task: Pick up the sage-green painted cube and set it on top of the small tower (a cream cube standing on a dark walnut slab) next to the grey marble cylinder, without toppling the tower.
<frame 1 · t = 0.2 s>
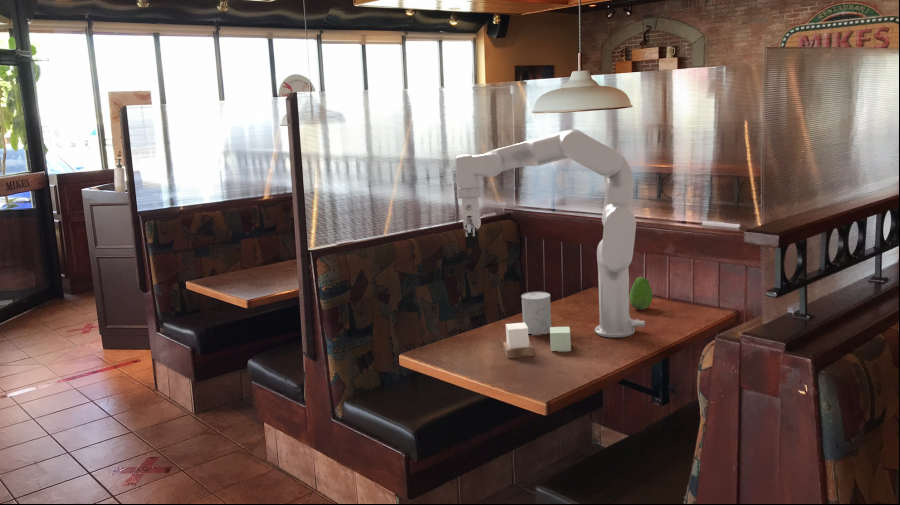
hand: (472, 245, 235), 31 cm above the table, fingers open, 9 cm apart
tower cube: (517, 344, 223), point 2 cm above the table, touching walnut slab
grey marble cylinder: (537, 331, 243), on the table
sage block: (560, 348, 225), on the table
walnut slab: (518, 354, 223), on the table, touching tower cube
avocado: (641, 309, 259), on the table
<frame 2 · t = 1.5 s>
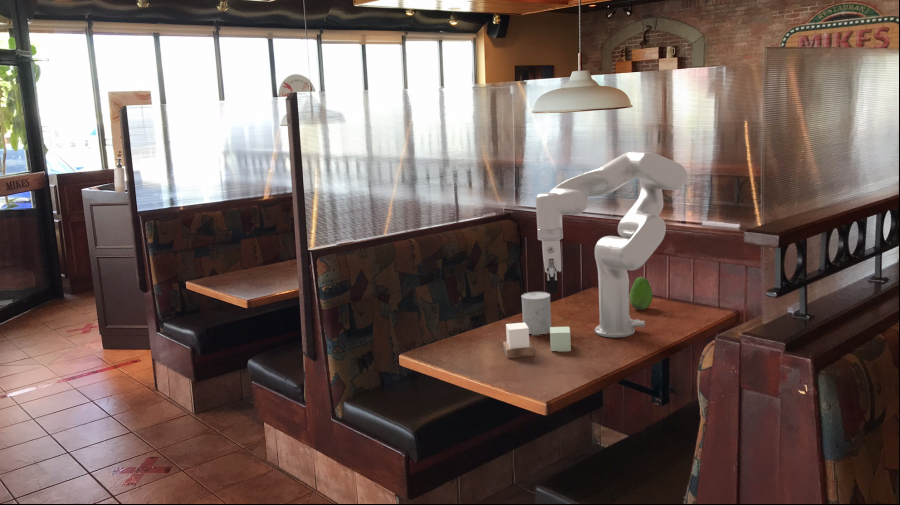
hand: (552, 288, 222), 19 cm above the table, fingers open, 9 cm apart
nothing on the table moved.
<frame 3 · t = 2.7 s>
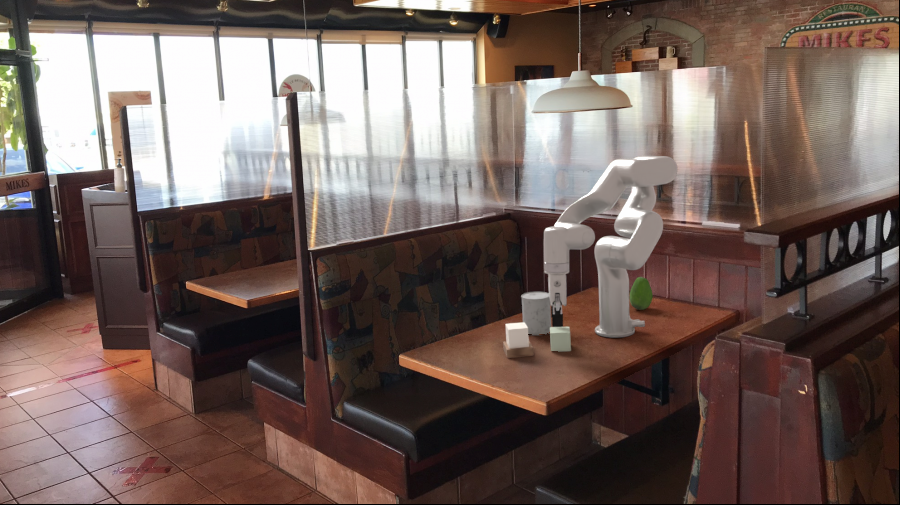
hand: (557, 322, 223), 9 cm above the table, fingers open, 9 cm apart
tower cube: (517, 344, 223), point 3 cm above the table
walnut slab: (518, 353, 224), on the table
everything else where it was.
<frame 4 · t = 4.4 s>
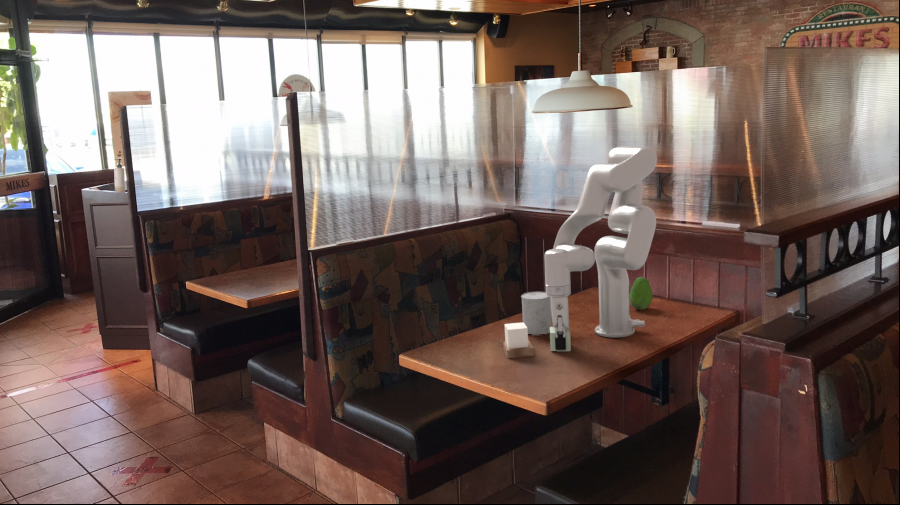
hand: (560, 345, 225), 1 cm above the table, fingers closed on sage block, 6 cm apart
tower cube: (516, 344, 223), point 2 cm above the table, touching walnut slab
sage block: (560, 348, 225), on the table, touching gripper
walnut slab: (518, 354, 223), on the table, touching tower cube
everything else where it was.
when the fingers open (11 cm above the table, at t = 9.2 s): sage block drops 2 cm, resting on tower cube.
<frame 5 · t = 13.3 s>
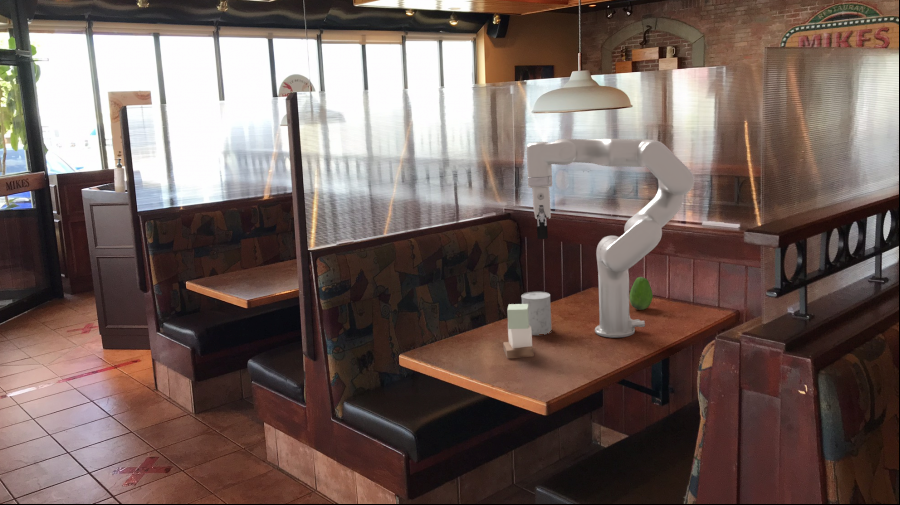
hand: (542, 235, 230), 33 cm above the table, fingers open, 9 cm apart
tower cube: (520, 344, 223), point 2 cm above the table, touching sage block, walnut slab
sage block: (518, 325, 222), point 8 cm above the table, touching tower cube
everything else where it was.
at the end: sage block 0.3 cm off-centre on the tower cube, point 6.0 cm above the tower cube's base; tower cube tilted 0°; sage block tilted 0° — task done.
